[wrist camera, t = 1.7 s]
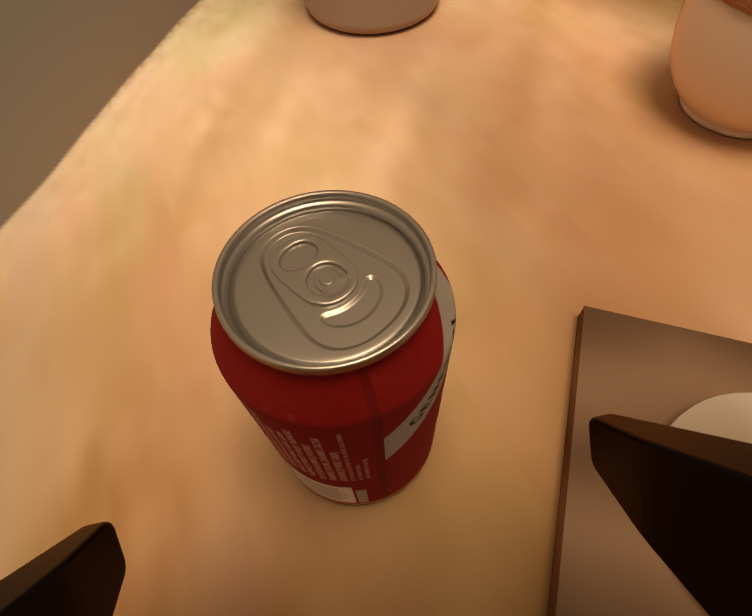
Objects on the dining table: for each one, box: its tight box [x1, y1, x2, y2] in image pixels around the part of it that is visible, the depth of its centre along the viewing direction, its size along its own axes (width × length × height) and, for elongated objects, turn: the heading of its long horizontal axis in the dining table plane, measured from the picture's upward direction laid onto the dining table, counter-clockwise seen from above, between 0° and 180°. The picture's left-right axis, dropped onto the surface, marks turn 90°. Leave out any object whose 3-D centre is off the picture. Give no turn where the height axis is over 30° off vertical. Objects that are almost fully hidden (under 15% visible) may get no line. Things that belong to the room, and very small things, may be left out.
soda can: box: [210, 190, 456, 504], centre depth 16 cm, size 7×7×12 cm
